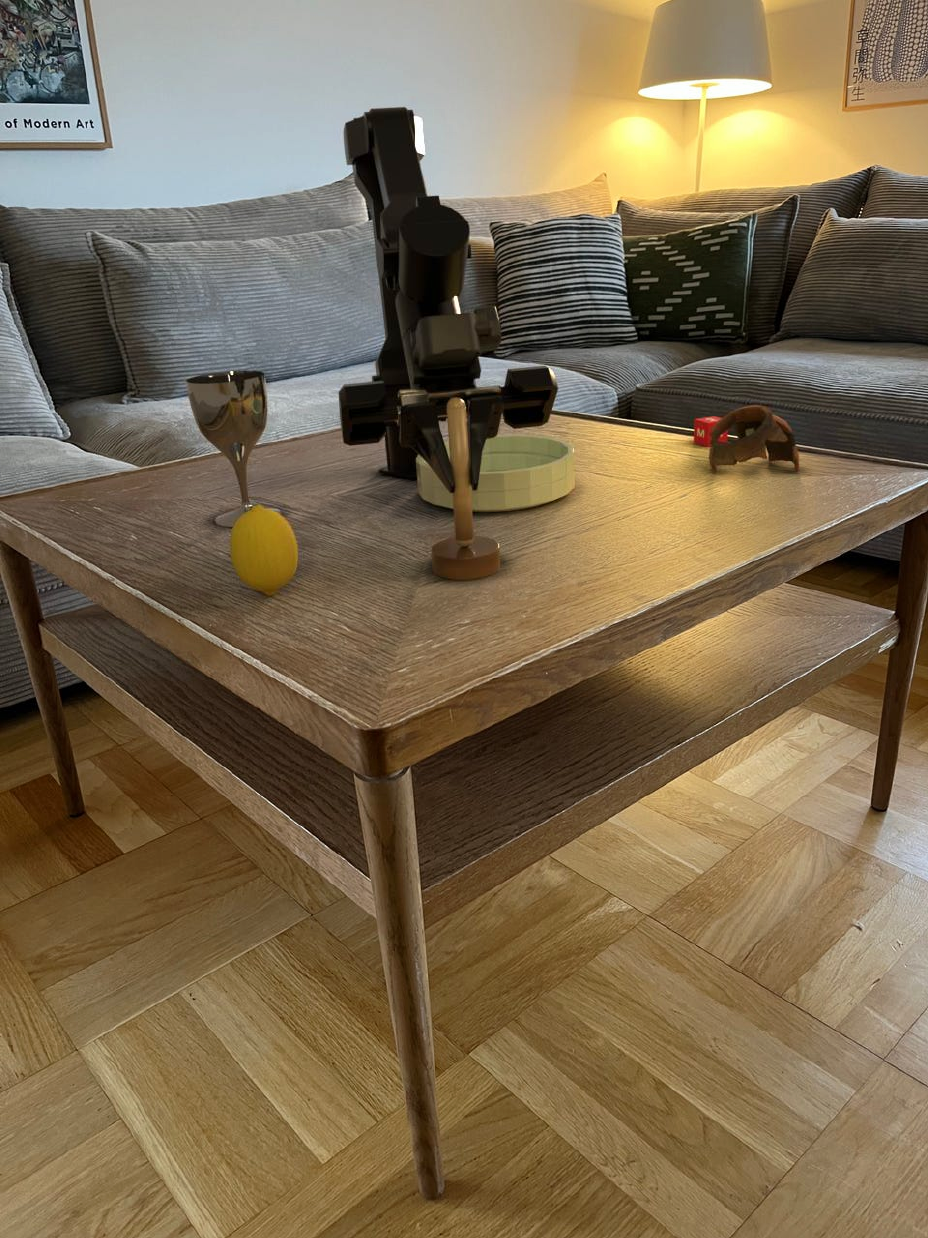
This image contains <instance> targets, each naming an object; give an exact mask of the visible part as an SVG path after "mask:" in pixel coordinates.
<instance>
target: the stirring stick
mask: <svg viewBox="0 0 928 1238" xmlns="http://www.w3.org/2000/svg"><path fill="white" fill-rule="evenodd" d="M446 422H447V433H448V434H447V437H448V441H449V451H450V463H451V466H452V470H453V474H454V481H455V493H452V494H453V509H452V510H453V522H454V537H449V538H445V539H442V540H440V541H438V542H436V543H434V544H433V545H432V546H431V550H430V551H431V562H432V572H433V573H434V574H435V576H438V577H440V578H442V579H447V580H452V581H453V580H454V581H470V580H478V579H482V578H486V577H489V576H491V575H493V574H495V573H497V572H499V569H501V558H500V557H501V553H500V544H499V542H498V541H497V540H495V539H494V538H490V537H487V536H482V535H475V534H474V522H473V521H474V519H473V512H472V501H471V484H470V468H469V451H468V435H467V418H466V405H465V402H464V401H463V400H462V399H460V398H457V397H455V398H452V399H450V400H449V401H448V403H447V419H446Z"/></svg>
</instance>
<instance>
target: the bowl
mask: <svg viewBox="0 0 928 1238" xmlns="http://www.w3.org/2000/svg"><path fill="white" fill-rule="evenodd" d="M444 443H445V447H446V450H447V453H448V456H449V460H450V451H449V440H448V441H444ZM416 469H417V479H416V480H417V493H418V494H419V495H420V497H421V499H422V500H423V501H426V502H428V503H430V504H431V505H434V506H438V507H443V508H446V509H450V510H454V509H453V494H452V493H450V492H449V491H448V490H447V488H446V487H445V486H444V484H443V483H442V482H441V480H440V479H439V478H438V476H437V475H436V474H435V472H434V471H433V469H432V468H431V467H430V466H429V464H428V463H427V462H426V461H425V460H424V459H423V458H422V457H421V456H420V455H419V454H418V456H417V458H416ZM575 471H576V470H575V446H573V445H572V444H571V443H569V442H567V441H565V440H561V439H557V438H554V437H549V436H542V435H534V434H533V435H532V434H497V436H496V437H494V438H491V439H487V440H486V442H485V445H484V449H483V452H482V460H481V467H480V475H479V483H478V488H477V490H476V491H473V490H472V487H471V501H472V513H474V512H475V513H497V512H498V513H499V512H509V511H510V512H511V511H518V510H519V511H520V510H523V509H524V510H525V509H531V508H534V507H538V506H542V505H545V504H548V503H550V502H553V501H555V500H557V499H560V498H562V497H565V496H567V495H568V494H569V493H570V492H572V490H574V488H576V482H575V481H576V478H575V477H576V476H575V475H576V473H575Z"/></svg>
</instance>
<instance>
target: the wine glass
mask: <svg viewBox="0 0 928 1238" xmlns="http://www.w3.org/2000/svg"><path fill="white" fill-rule="evenodd" d="M185 384H186V385H185V386H186V390H187V395H188V396H187V397H188V400H189V404H190V405H189V406H190V409H191V411H192V414H193V417H194V420H195V423H196V426H197V427H198V430H199V431H200V433H201V435H202V436H203V437H204V438H205V439H206V440H207V441H208V442H209V443H211V445H212V446H214V447H215V448H216V449H217V450H218V451H219V452H220V453H222V455H224V457H225V458H227V460H228V461H229V463H230V464H231V466H232V468H233V470H234V473H235V476H236V479H237V483H238V486H239V492H240V497H241V505H240V506H239V507H238V508H236V509H232V510H228V511H226V512H223V513H221V514H219V515H217V516H216V517H215V519H214V523H215V524H216V525H218V526H221V527H228V528H233V526H234V524H235V523H236V521H237V520H238V519H239V517H240V516H242V515H243V514H244V513H246V512H247V511H249V510H251V509H252V507H253V506H254V505H252V504H251V501H250V497H249V492H248V491H249V490H248V482H247V480H248V479H247V476H248V475H247V466H248V462H249V458H250V456H251V453H252V452H253V450H254V448H255V447H256V445H257V443H258V442H259V441H260V439H261V437H262V435H263V434H264V432H265V430H266V426H267V422H268V407H269V404H268V402H269V401H268V391H267V390H268V389H267V382H266V376H265V372H263V371H260V370H231V371H230V370H229V371H220V372H219V371H218V372H212V373H205V374H201V375H195V376H192V377H190V378H189V377H188V379H186V380H185ZM262 507H263V508H266V509H270V510H273V511H275V512H277V513H279V514H280V515H281V514H282V512H281V510H280V509H279V508H277V507H274V506H273V507H272V506H262Z"/></svg>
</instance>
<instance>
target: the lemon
mask: <svg viewBox="0 0 928 1238" xmlns="http://www.w3.org/2000/svg"><path fill="white" fill-rule="evenodd" d="M252 506H253V507H252V509H251V510H249V511H247V512H246V513H244V514H243V515H242V516H240V517H239V519H238V520H237V521H236V523H235V524H234V526H233V527H231V532H230V538H229V552H230V553H229V554H230V560H231V563H232V566H233V569H234V572H235V574H236V575H237V577H238V579H240V581H242V583H244V584H245V585H246V586H247V587H249V588H251V589H253V590H255V591H261V592H262V593H264V594H265V595H266V596H269V597H270V596H275V595H276V593H277V592H278V591H279V590H280V589H281V588H282V587H285V585H287V584H288V583H290V581H291V580H292V578H293V577H294V575H295V574H296V571H297V568H298V560H299V548H298V541H297V539H296V535H295V533H294V531H293V528H292V527H291V525H290V523H289V521H288V520H287V519H286V518H285V517H284V516H283V515H280V514H279V513H277V512H275V511H273V510H270V509H266V508H263V507H264V506H262V504H254V505H252Z"/></svg>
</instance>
